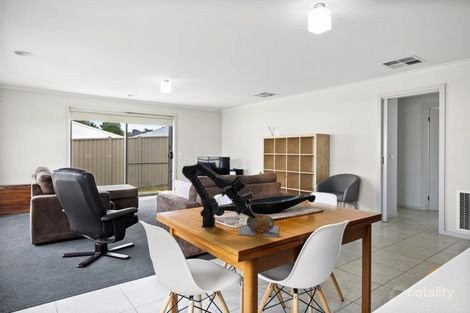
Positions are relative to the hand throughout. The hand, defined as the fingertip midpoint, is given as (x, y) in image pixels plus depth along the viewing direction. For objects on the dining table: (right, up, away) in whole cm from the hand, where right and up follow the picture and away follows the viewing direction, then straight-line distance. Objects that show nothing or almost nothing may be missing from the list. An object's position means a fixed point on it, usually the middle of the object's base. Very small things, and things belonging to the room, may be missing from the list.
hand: (254, 217), depth 151 cm
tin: (+3, -7, 0) cm, 7 cm away
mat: (+3, -7, +1) cm, 8 cm away
